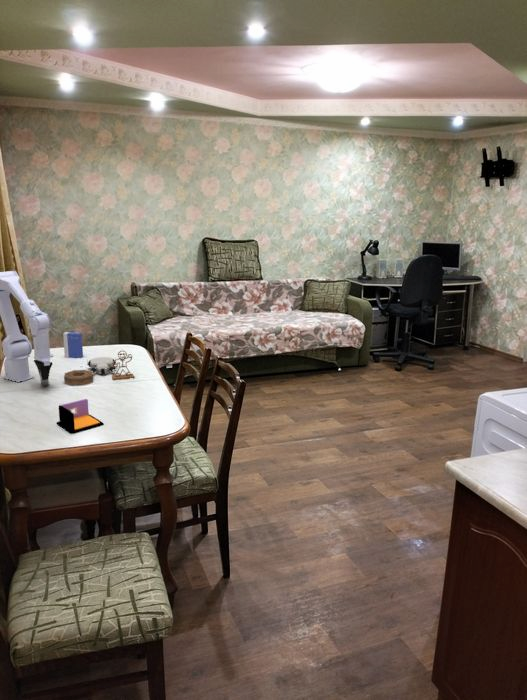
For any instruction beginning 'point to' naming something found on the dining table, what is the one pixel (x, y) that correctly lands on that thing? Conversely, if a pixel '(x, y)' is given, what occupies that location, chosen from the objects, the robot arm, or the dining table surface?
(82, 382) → the walnut bead
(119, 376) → the cartoon figure standee
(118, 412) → the dining table surface
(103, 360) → the robot toy
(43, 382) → the metal cylinder
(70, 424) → the dollhouse room
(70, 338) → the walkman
